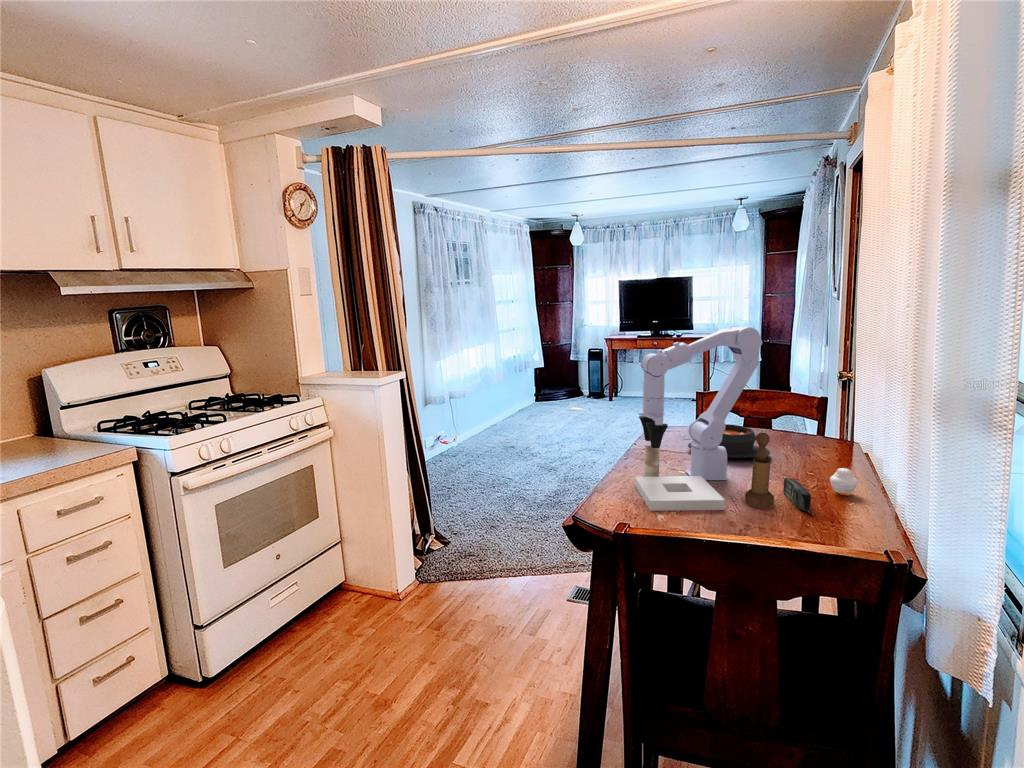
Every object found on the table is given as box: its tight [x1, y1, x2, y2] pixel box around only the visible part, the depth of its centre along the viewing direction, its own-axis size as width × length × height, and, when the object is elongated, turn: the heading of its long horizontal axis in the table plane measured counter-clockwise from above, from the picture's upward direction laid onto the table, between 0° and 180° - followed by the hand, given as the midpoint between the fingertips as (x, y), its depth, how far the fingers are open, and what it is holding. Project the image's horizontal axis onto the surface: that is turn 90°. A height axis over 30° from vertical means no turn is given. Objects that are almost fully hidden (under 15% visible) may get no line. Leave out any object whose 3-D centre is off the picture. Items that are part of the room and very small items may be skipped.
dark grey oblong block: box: [782, 477, 815, 515], centre depth 138 cm, size 5×3×15 cm
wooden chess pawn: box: [744, 432, 775, 509], centre depth 137 cm, size 7×6×18 cm
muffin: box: [829, 467, 858, 494], centre depth 143 cm, size 6×6×7 cm
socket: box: [634, 475, 726, 512], centre depth 144 cm, size 18×18×2 cm
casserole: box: [687, 423, 771, 460], centre depth 180 cm, size 25×19×8 cm
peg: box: [643, 445, 661, 477], centre depth 158 cm, size 4×4×9 cm
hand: (652, 444), depth 157 cm, fingers open, 7 cm apart
